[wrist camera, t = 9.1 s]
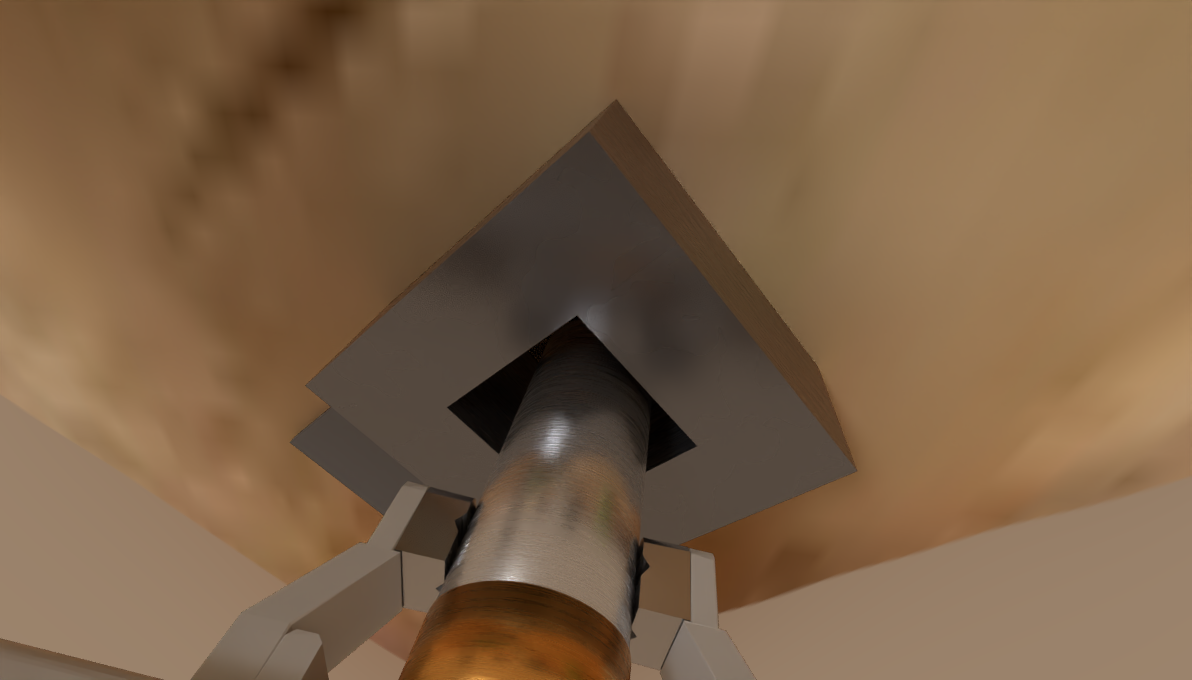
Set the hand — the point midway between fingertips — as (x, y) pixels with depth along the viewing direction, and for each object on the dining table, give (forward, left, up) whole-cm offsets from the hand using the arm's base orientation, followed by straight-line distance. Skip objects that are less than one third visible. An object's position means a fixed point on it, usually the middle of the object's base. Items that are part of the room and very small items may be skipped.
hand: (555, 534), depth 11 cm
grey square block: (0, 0, -9) cm, 9 cm away
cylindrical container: (0, 0, -7) cm, 7 cm away
